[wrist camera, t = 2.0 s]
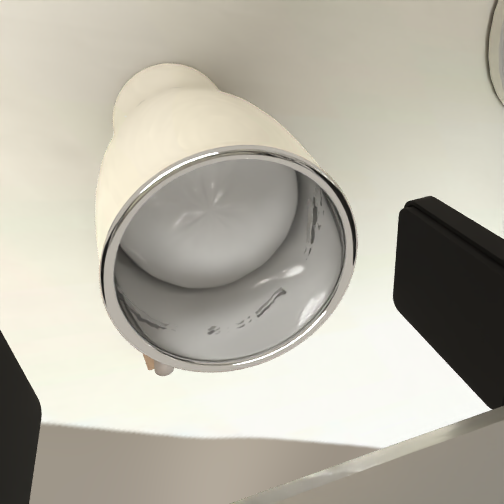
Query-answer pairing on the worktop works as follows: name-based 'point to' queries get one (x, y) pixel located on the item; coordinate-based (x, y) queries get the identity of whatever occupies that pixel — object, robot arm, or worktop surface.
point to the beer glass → (215, 227)
